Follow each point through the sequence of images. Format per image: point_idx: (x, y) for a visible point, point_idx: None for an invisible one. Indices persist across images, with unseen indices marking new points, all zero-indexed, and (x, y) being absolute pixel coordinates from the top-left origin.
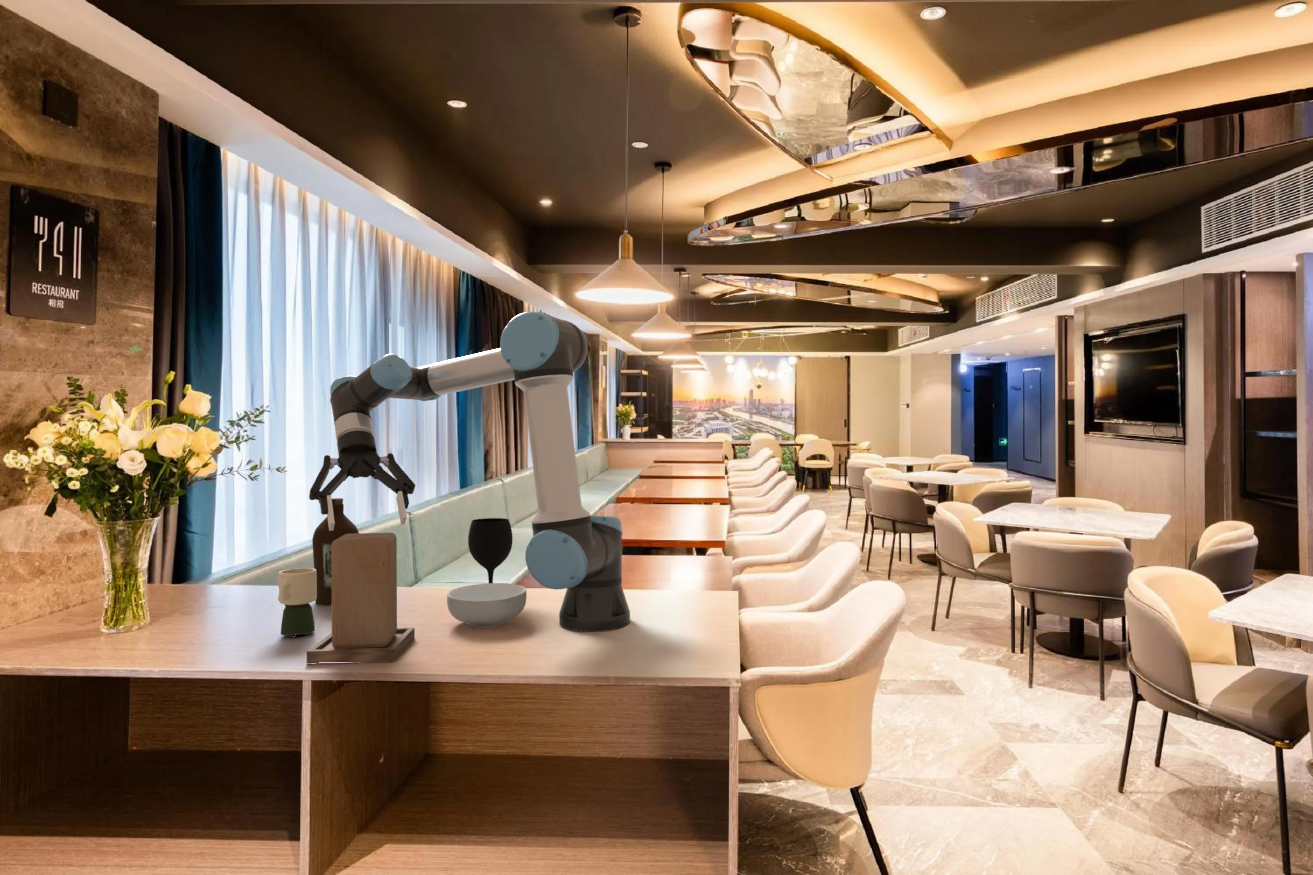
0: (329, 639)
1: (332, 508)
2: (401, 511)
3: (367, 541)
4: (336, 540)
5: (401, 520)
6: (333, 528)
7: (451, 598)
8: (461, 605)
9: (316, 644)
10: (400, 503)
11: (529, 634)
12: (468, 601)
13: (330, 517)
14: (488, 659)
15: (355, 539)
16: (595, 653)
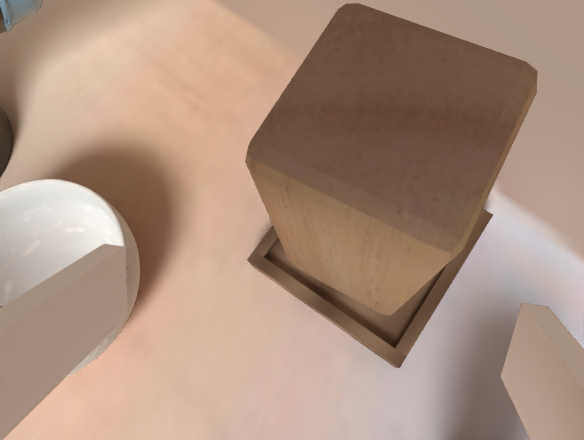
0: (431, 289)
1: (577, 378)
2: (93, 280)
3: (409, 23)
4: (525, 65)
5: (120, 296)
6: (506, 360)
7: (126, 271)
8: (129, 235)
9: (466, 255)
10: (53, 295)
11: (78, 159)
12: (116, 214)
13: (563, 332)
14: (216, 73)
15: (451, 41)
16: (87, 17)
